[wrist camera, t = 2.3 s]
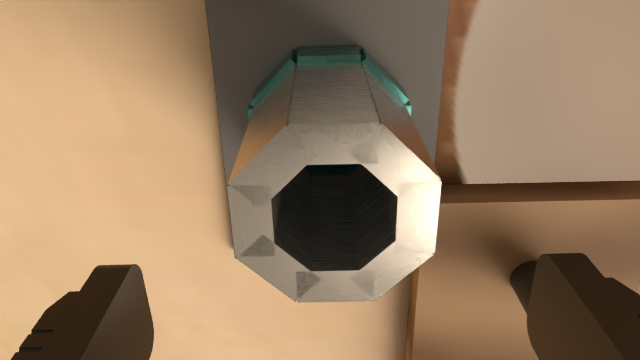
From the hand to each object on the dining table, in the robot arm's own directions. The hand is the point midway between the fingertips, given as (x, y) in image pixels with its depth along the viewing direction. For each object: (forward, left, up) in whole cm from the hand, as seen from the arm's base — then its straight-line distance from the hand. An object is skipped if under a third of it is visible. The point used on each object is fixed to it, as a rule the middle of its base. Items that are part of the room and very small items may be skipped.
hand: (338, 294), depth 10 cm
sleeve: (0, 0, -9) cm, 9 cm away
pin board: (+11, +8, -10) cm, 17 cm away
